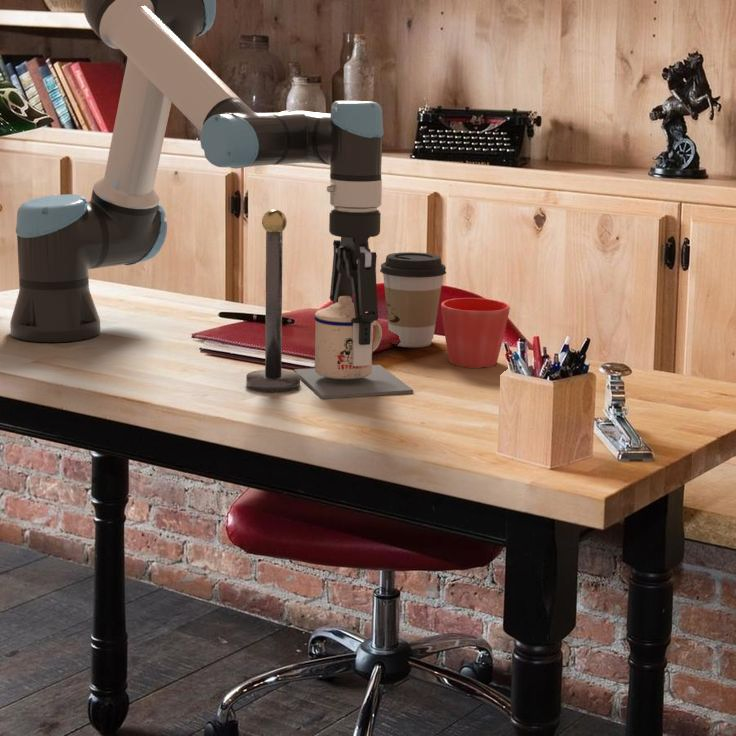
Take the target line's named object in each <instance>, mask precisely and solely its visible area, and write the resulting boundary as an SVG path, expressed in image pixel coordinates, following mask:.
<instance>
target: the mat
mask: <svg viewBox="0 0 736 736" xmlns="http://www.w3.org/2000/svg"><path fill="white" fill-rule="evenodd" d="M293 372H296V373H298V374H299V375H300V381H302V382H303V383H305V385H307V386H308V388H309V389H310V390H312V391H313V393H315V394H316V396H318V397H319V398H320V399H322V400H324V399H325V400H326V399H339V398H340V399H341V398H355V397H356V398H358V397H371V396H372V397H373V396H387V395H404V394H414V389H413V388H411V386H409V385H407V384H406V383H405V382H403V381H402V380H401V379H400V378H398V377H397V376H395V375H394V374H393V373H391V372H390V371H389V370H387V369H386V368H385V367H383V366H382V365H380V364H372V372H371V374H370V375H368V376H366V377H362V378H357V379H334V378H328V377H324V376H321V375H319V374H317V373H316V371H315V367H313V368H295V369H293Z"/></svg>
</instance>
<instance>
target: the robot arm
mask: <svg viewBox="0 0 736 736" xmlns="http://www.w3.org/2000/svg"><path fill="white" fill-rule="evenodd" d="M216 1H217V0H81V4H82V11H83V13H84V17H85V19H86V22H87V23H88V25H89V26H90V28H91V30H92V31H93V32H94V33H95V35H96V36H97V37H98V39H100V40H101V41H102V42H103V43H104V44H105V45H106V46H107V47H110V48H112V49H115V50H120V51H121V52H122V53H123V54H124V55H125V56H126V57H127V59H126V65H125V70H124V74H123V78H122V79H123V80H122V84H121V90H120V96H119V100H118V106H117V111H116V116H115V121H114V125H113V131H112V135H111V142H110V146H109V151H108V157H107V163H106V166H105V172H104V177H103V178H101V179H99V180H98V181H96V182H95V183H94V184H93V187H92V192H91V197H90V200H89V201H87V199H86V197H84V195H80V194H74V193H73V194H71V193H70V194H69V193H67V194H66V193H65V194H58V195H56V194H55V195H53V194H52V195H46V196H41V197H40V196H39V197H36V198H32V199H30V200H27V201H25V202H23V203H22V204H21V205H20V206H19V208H18V209H17V212H16V227H15V234H16V237H17V238H16V240H17V263H18V265H17V266H18V284H19V287H18V288H19V291H18V294H17V298H16V301H15V304H14V308H13V312H12V314H11V318H10V325H9V326H10V336H11V337H13V338H14V339H17V340H22V341H27V342H36V343H65V342H76V341H81V340H82V341H83V340H87V339H91V338H93V337H94V338H95V337H96V336H98V335H100V334H101V318H100V316H99V314H98V313H99V312H98V310H97V307H96V305H95V301H94V300H93V296H92V294H91V291H90V283H89V280H90V279H89V273H90V272H89V270H93V269H102V268H107V267H108V268H109V267H118V266H134V265H136V264H138V263H142V262H147V261H149V260H151V259H153V258H154V257H156V255H158V253H159V252H160V251H161V249H162V248H163V246H164V244H165V241H166V237H167V233H168V222H167V220H165V218H166V216H167V215H166V213H165V210H164V207H163V206H162V204H161V203H160V196H159V194H158V193H157V192H156V191H155V189H154V186H155V181H156V177H157V171H158V168H159V163H160V157H161V154H162V149H163V145H164V140H165V134H166V129H167V125H168V121H169V117H170V111H171V107H172V104H173V105H174V107H176V108H177V109H178V111H179V112H180V113H181V114H183V115H184V116H185V118H187V120H188V121H190V123H191V124H192V125H193V126H195V127H196V130H197V129H198V131H199V132H200V138H199V139H200V140H199V141H200V147H201V149H202V150H203V151H204V157H205V159H206V160H207V161H208V163H210V165H213V166H215V167H217V168H231V169H244V168H251V167H262V166H270V165H271V166H272V165H273V166H275V165H289V164H290V165H291V164H305V163H306V164H317V165H328V166H329V169H330V170H329V171H330V173H329V178H330V180H329V181H330V185H328V186H326V192H327V193H329V194H330V195H329V199H330V200H329V204H330V205H331V206H332V207H333V208H332V209H331V210H330V211H329V220H328V221H329V224H328V229H329V233H330V234H331V236H335V237H339V238H340V239H334V240H333V242H332V245H333V257H332V270H331V271H332V272H331V279H330V280H331V283H330V294H329V300H330V302H332V304H334V303H337V302H338V298H339V297H340V296H350V297H351V299H353V300H352V302H351V303H354V309H355V317H356V318H353V319H352V320H351V323H353V357H352V365H353V366H367V365H371V359H372V360H373V352H372V322H374V321H376V322H378V320H379V312H378V311H379V310H378V309H379V308H378V291H377V290H378V286H377V253H376V251H371V249H370V247H369V239H370V238H375V237H378V236H379V235H380V234H381V212H380V210H379V209H378V208H379V207H380V206H382V194H383V193H382V189H383V188H382V185H383V182H382V181H383V180H382V161H383V159H382V157H383V156H382V155H383V139H384V134H385V131H384V122H383V121H384V119H383V108H382V106H381V105H380V104H379V103H378V102H375V101H368V100H367V101H366V100H364V101H363V100H362V101H361V100H335V101H334V102H332V104H331V109H330V113H327V112H318V111H317V112H314V111H307V110H303V109H296V110H293V109H290V110H283V111H280V112H255V111H253V109H251V108H250V107H249V106H248V105H247V103H245V102H244V101H243V100H242V99H241V98H240V97H239V96H238V95H237V94H236V93H235V92H234V91H233V90H232V89H231V88H230V87H229V86H228V85H227V84H226V83H225V82H224V81H223V80H222V79H221V78H220V77H218V75H217V74H216V73H215V72H214V71H213V70H212V69H211V68H210V67H209V66H208V65H206V63H205V62H204V61H203V60H202V59H201V58H200V57H199V56H197V54H196V53H195V52H194V51H193V49H194V45H195V40H196V37H201V36H202V35H205V34H206V33H207V32H208V31H210V30H211V28H212V26H213V25H214V21H215V18H216V13H217V2H216ZM365 312H368V313H365Z"/></svg>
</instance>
